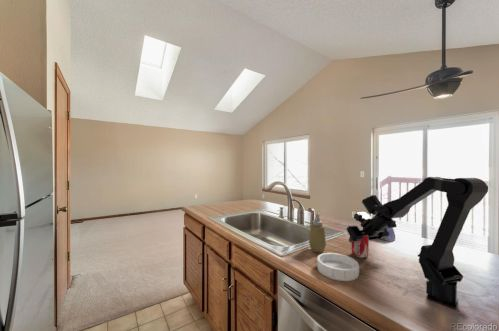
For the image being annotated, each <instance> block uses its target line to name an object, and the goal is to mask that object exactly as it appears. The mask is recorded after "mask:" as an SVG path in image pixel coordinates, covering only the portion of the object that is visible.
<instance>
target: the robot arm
mask: <svg viewBox="0 0 499 331" xmlns="http://www.w3.org/2000/svg"><path fill="white" fill-rule="evenodd" d="M437 191H438V192H441V193H442V192H443V193H445V194H446V196H445V197H446V200H447V207H446V209H445V211H444V214H443V217H442V219H441V222H440V224H439V226H438V229H437V231H436V234H435V237H434V239H433V241H432V243H431V244H425V245H421V247H420V252H419V253H418V254H417V257H418V263H419V264H420V267H421V270H422V272H423V275H424V279H426V283H425V284H426V285H425V286H426V287H425V288H426V292H425V293H426V294H427V296H426V298H427V299H428V300H431V301H433V302H436V303H439V304H441V305H444V306H447V307H449V308H452V309H455V310H456V309H457V306H458V301H459V298H458V282H459V283H461V282H462V280H463V278H464V275H463V274H462V273H461V272H460V270H458V269H457V267H456V266H455V256H454V248H455V246H456V244H457V241H458V239H459V237H460V235H461V232H462V229H463V228H464V226H465V223H466V220H467V219H468V216H469V214H470V212H471V210H473V208H474V207H475V206H476V205H479V203H481V201H482V200H483V199H484V198H485V196H486V195H487V194H488V192H489V185H487V183H486V182H485V181H484V180H483V179H481V178H478V177H457V178H446V177H445V178H444V177H441V176H428V177H425V178H424V179H423V180H422V181H421V182H420V183H418V184H417V185H415V186H414V187H412V188H411V189H410V190H408V191H407V192H406V193H405V194H402V196H400V197H399V198H396V199H393V200H390V201H388V202H385V203H384V204H382V202H381V201H380V199H378V196H377V195H376V194H371V195H370V196H368V197H366V198H363V199H362V200H361V205H363V207H364V208H365V209H366V211H367V212H366V211H358V212H356V213H354V214H353V218H354V219H355V221H357V222H359V223H360V224H359V225H360V226H361V228H362V229H363V230H359V228H360V227H359V226H357V225H348V226H347V227H346V231H347V233H348V235H349V237H348V242H349V243H351V242H356V241H360V240H362V239H363V236H368V238H369V241H372V240H374V241H375V240H379V239H380V240H382V238H386V237H388V236H389V232H388V231H387V230H386V227H387V226H388V227H389V228H393V229H394V228H397V226H398V225H397V223H396V222H397V221H396V220H395V219H400V218H401V219H402V218H404V217H405V216H406V215H407V214H408V213H409V212H410V211H411V210H410V209H411V208H412V207H414V205H417V204H418V203H419V202H420V203H421V201H423V200H424V199H426V198H427V197H429V196H430V195H432V194H433V193H435V192H437ZM371 215H373V217H372V216H371Z"/></svg>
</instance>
